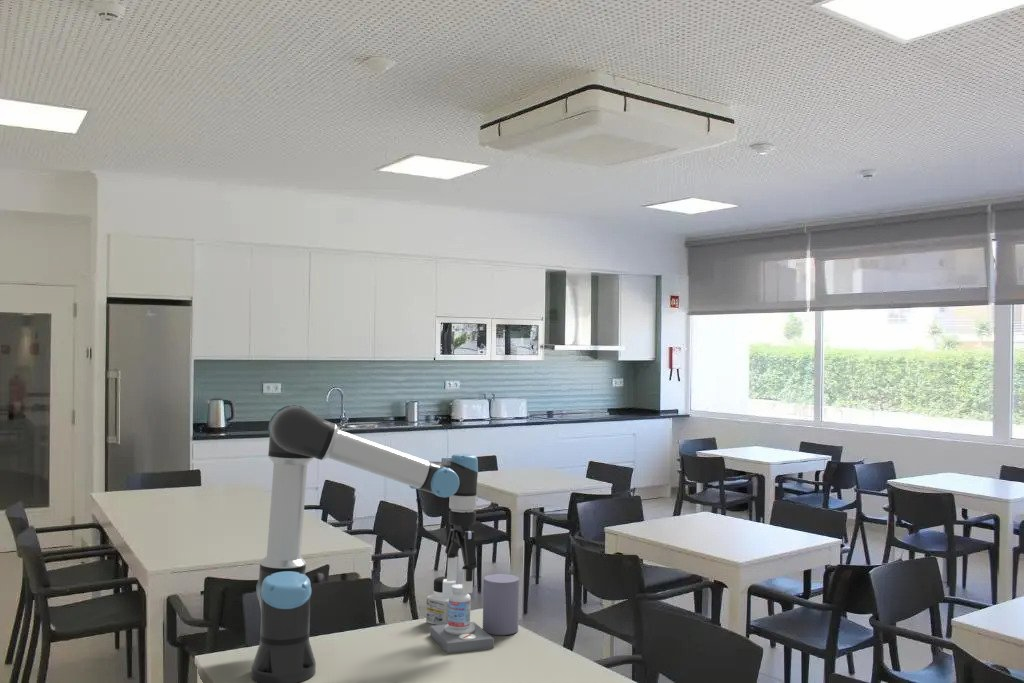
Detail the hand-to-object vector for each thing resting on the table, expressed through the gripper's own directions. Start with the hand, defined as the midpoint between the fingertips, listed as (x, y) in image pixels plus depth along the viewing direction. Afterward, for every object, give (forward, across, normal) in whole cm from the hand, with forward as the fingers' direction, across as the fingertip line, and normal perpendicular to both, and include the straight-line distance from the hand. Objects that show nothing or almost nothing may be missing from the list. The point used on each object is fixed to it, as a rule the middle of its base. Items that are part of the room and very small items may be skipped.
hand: (459, 586), depth 236 cm
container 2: (+15, +4, -15) cm, 21 cm away
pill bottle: (+11, 0, 0) cm, 11 cm away
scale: (+15, -2, -1) cm, 15 cm away
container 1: (+15, +18, -2) cm, 23 cm away
